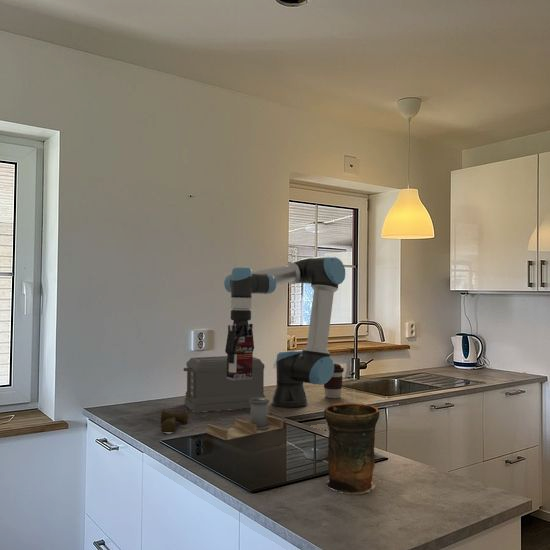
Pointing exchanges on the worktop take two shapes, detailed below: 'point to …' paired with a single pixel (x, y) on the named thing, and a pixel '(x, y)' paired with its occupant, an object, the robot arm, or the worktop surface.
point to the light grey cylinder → (259, 412)
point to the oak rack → (243, 428)
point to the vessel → (351, 447)
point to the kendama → (172, 420)
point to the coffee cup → (334, 383)
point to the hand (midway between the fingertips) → (239, 370)
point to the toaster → (220, 385)
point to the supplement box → (242, 359)
